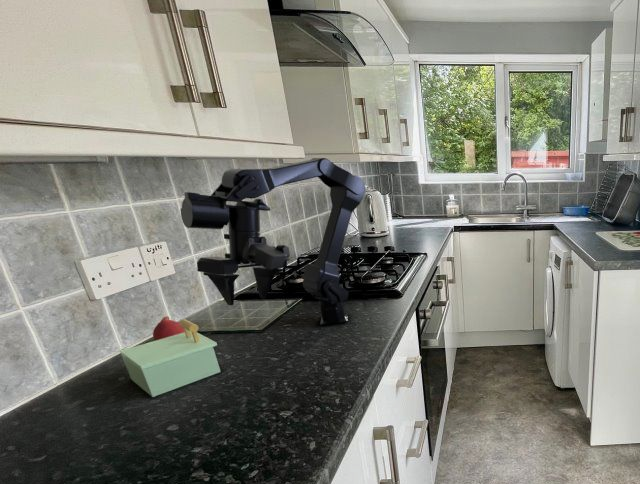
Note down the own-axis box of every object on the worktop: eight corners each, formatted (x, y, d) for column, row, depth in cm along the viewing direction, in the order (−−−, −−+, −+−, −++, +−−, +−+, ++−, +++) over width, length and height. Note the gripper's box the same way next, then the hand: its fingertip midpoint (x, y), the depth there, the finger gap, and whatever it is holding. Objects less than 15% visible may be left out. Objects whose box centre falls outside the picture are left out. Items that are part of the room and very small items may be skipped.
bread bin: (197, 357, 90) (189, 334, 88) (220, 372, 84) (213, 347, 82) (131, 379, 81) (121, 354, 79) (152, 397, 75) (141, 370, 73)
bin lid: (193, 332, 89) (187, 313, 87) (217, 345, 83) (211, 325, 81) (120, 354, 79) (112, 332, 77) (141, 370, 73) (133, 347, 72)
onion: (173, 355, 91) (161, 322, 88) (152, 353, 92) (140, 320, 89) (196, 344, 96) (186, 313, 93) (176, 342, 97) (166, 311, 94)
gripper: (242, 234, 77) (246, 314, 81) (307, 234, 95) (307, 299, 99) (192, 228, 79) (197, 307, 82) (264, 229, 97) (266, 293, 100)
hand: (247, 301), depth 91 cm, fingers open, 9 cm apart
